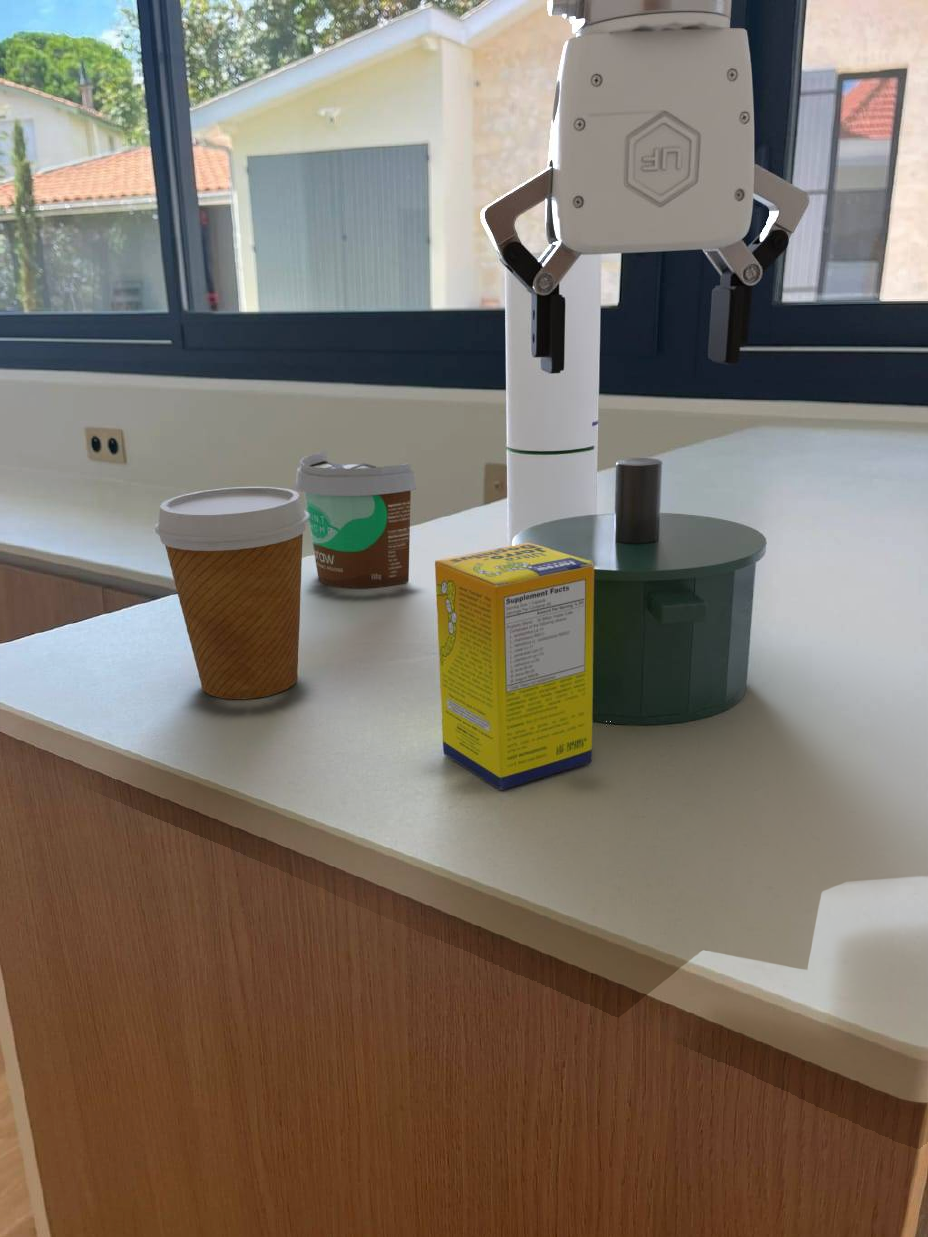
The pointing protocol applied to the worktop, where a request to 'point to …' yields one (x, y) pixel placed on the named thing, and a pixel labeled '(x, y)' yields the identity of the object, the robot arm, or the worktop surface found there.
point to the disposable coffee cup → (238, 584)
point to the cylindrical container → (553, 405)
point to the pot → (671, 647)
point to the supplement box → (516, 661)
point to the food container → (358, 521)
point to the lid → (649, 535)
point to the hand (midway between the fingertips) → (637, 366)
